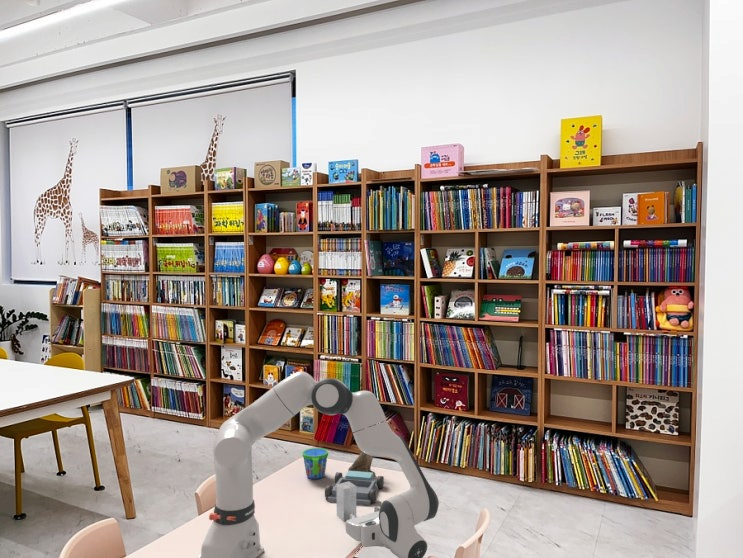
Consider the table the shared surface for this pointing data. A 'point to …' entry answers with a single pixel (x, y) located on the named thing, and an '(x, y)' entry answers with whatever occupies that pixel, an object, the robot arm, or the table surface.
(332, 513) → the table surface
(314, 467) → the snack cup
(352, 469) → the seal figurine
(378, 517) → the robot arm
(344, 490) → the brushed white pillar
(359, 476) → the toy truck
